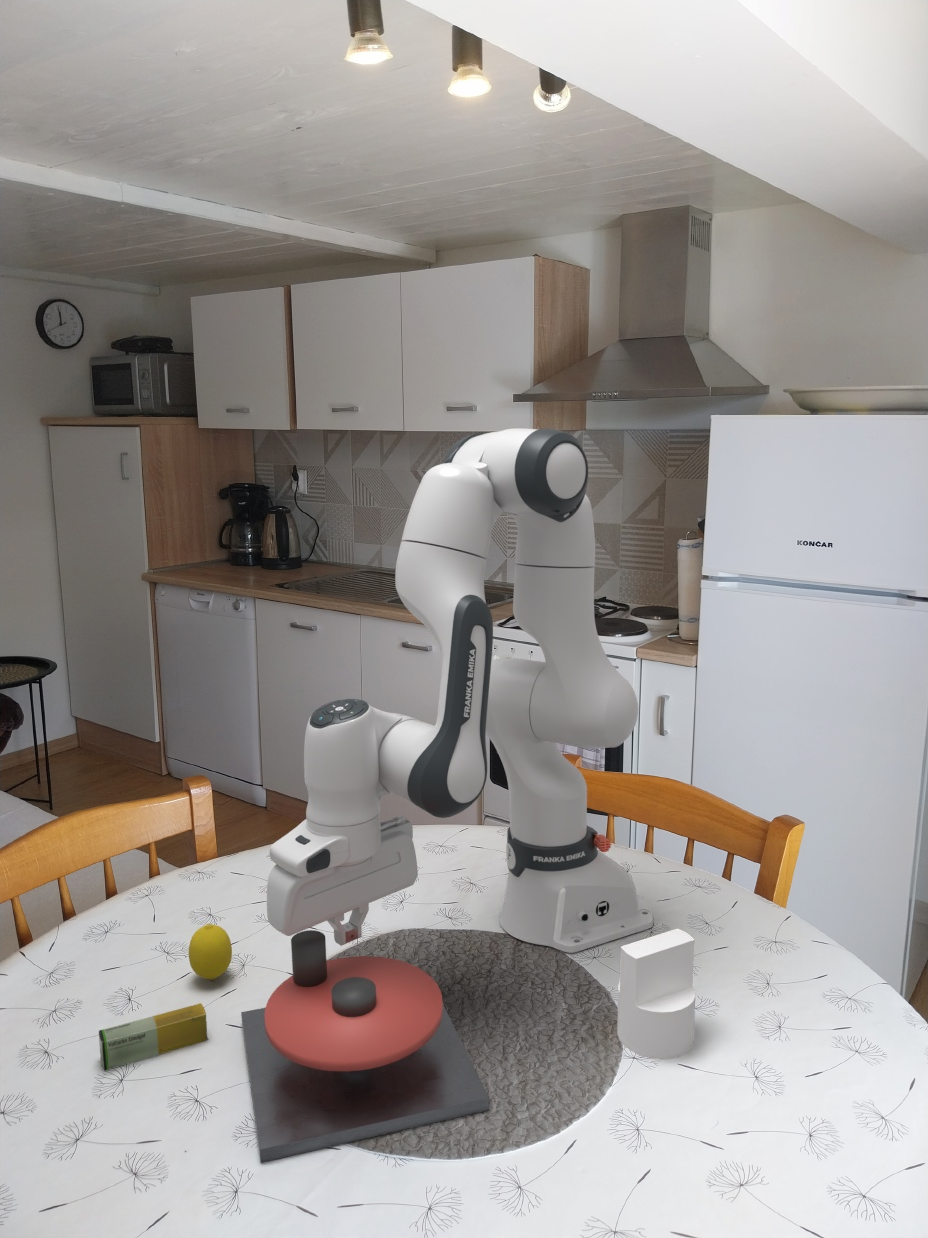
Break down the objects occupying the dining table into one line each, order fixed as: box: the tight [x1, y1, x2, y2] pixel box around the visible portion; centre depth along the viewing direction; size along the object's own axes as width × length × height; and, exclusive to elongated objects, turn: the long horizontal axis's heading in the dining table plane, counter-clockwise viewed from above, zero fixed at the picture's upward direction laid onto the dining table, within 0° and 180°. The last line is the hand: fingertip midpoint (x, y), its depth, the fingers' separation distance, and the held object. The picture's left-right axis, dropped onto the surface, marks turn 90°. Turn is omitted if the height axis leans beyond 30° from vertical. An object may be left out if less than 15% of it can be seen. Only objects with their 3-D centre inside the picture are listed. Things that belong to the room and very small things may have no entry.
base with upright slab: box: [616, 928, 696, 1060], centre depth 113 cm, size 9×9×12 cm
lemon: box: [188, 923, 233, 981], centre depth 126 cm, size 6×6×8 cm
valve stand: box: [240, 1004, 490, 1163], centre depth 109 cm, size 24×24×6 cm
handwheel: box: [264, 929, 444, 1071], centre depth 108 cm, size 20×20×6 cm
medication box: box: [98, 1002, 209, 1071], centre depth 112 cm, size 12×3×4 cm, turn 117°
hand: (348, 940), depth 118 cm, fingers closed
